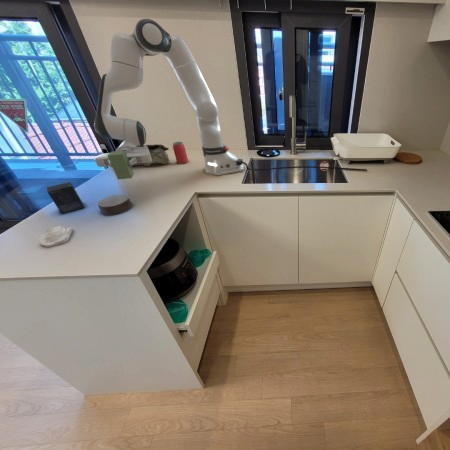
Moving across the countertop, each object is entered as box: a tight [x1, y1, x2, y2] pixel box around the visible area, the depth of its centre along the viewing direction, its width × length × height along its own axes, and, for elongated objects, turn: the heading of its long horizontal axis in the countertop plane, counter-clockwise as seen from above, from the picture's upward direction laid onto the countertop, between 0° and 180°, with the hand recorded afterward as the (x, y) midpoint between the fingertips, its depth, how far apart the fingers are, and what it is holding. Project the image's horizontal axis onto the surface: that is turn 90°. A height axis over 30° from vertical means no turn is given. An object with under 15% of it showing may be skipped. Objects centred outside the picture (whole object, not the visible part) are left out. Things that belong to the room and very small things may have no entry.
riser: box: [97, 194, 133, 216], centre depth 103 cm, size 11×11×4 cm
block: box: [108, 150, 135, 180], centre depth 99 cm, size 5×5×10 cm
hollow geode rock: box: [114, 143, 170, 167], centre depth 145 cm, size 28×13×15 cm
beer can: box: [172, 141, 189, 165], centre depth 150 cm, size 7×7×12 cm
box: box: [46, 181, 85, 214], centre depth 101 cm, size 8×6×11 cm
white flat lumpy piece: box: [38, 225, 74, 248], centre depth 85 cm, size 10×4×10 cm
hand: (120, 164), depth 98 cm, fingers closed on block, 5 cm apart
